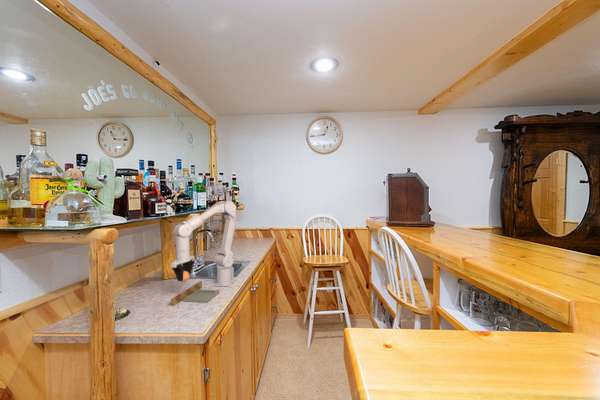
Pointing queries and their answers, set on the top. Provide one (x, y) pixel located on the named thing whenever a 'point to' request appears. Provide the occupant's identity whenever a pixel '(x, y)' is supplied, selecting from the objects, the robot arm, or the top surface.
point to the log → (121, 313)
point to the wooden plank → (185, 293)
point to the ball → (185, 276)
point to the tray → (202, 296)
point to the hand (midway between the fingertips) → (184, 278)
